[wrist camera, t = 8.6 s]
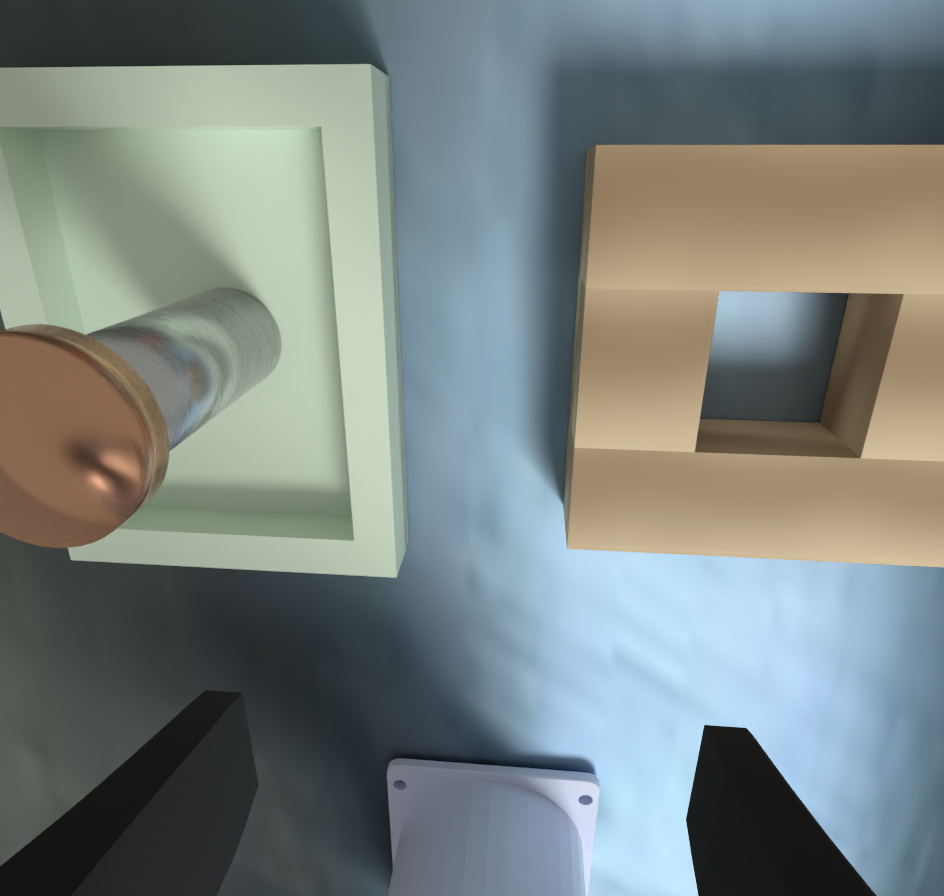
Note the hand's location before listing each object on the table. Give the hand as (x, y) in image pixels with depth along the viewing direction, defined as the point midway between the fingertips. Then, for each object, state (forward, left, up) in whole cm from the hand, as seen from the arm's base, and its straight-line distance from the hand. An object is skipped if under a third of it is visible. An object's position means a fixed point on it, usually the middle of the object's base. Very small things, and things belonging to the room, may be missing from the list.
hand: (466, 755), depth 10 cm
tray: (+4, +8, -10) cm, 14 cm away
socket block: (+4, -7, -10) cm, 13 cm away
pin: (+4, +8, -10) cm, 13 cm away
